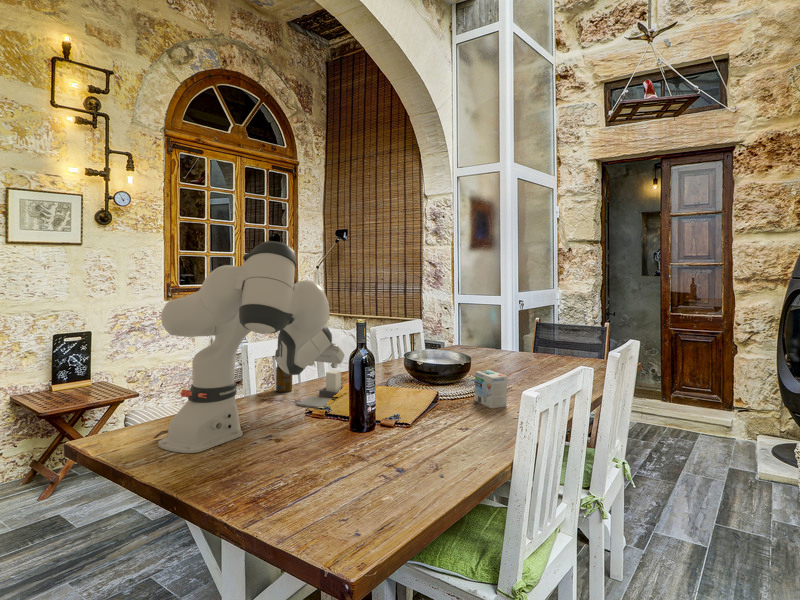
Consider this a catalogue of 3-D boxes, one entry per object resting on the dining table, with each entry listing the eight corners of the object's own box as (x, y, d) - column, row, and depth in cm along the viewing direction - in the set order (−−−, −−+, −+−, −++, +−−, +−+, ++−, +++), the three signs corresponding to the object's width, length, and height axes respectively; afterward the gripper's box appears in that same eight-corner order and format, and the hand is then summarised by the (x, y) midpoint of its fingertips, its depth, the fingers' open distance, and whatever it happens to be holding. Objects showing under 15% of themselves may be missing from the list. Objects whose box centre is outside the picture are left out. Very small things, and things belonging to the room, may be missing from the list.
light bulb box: (473, 400, 172) (474, 371, 171) (489, 398, 175) (489, 369, 174) (491, 408, 162) (492, 377, 161) (507, 406, 165) (508, 375, 164)
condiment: (293, 388, 185) (293, 357, 184) (293, 394, 177) (293, 362, 176) (274, 389, 183) (274, 358, 182) (273, 395, 175) (273, 362, 174)
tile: (321, 408, 160) (321, 407, 159) (296, 405, 163) (296, 403, 163) (336, 400, 169) (336, 399, 169) (311, 397, 172) (311, 396, 172)
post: (335, 396, 175) (335, 373, 174) (326, 395, 176) (326, 372, 175) (340, 393, 178) (340, 371, 178) (331, 392, 180) (331, 370, 179)
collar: (337, 398, 172) (337, 392, 172) (319, 395, 175) (319, 390, 175) (347, 392, 179) (347, 387, 179) (329, 390, 182) (329, 385, 182)
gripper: (339, 336, 156) (352, 360, 166) (286, 332, 164) (302, 355, 174) (332, 352, 153) (346, 375, 162) (278, 347, 160) (295, 370, 170)
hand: (323, 365), depth 168 cm, fingers open, 8 cm apart
